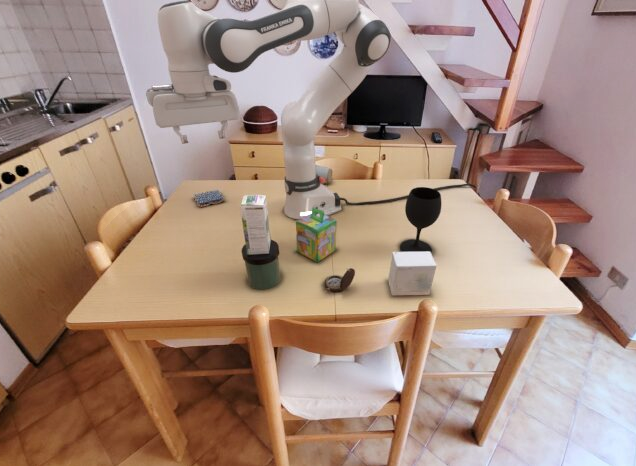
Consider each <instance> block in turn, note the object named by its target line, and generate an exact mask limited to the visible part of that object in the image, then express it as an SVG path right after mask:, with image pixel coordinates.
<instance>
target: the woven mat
mask: <svg viewBox="0 0 636 466" xmlns="http://www.w3.org/2000/svg"><path fill="white" fill-rule="evenodd" d="M193 199H194V201H195V202H197V203H196V204H197V206H198V207H200V208H204V207H207V206H210V205H216V204H220V203H221V204H222V202H225V201H226V199H225V198H224V196H223V194H222V193H221V192H220V191H219V190H218V189H214V190H210V191H205V192H201V193H200V192H198V193H194V194H193Z"/></svg>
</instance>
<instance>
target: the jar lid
mask: <svg viewBox="0 0 636 466" xmlns="http://www.w3.org/2000/svg"><path fill="white" fill-rule="evenodd" d="M270 240H271V242H270V250H269V254H252V255H248V254H247V250H246V243H244V245H243V246H242V248H241V256H242V259H243V261H244V263H245V262H247V263H249V264H252V265H264V264H268V263H270V262H272V261H274V260H275V259H276V258H277V257H278V258H279V255H280V246H279V243H278V242H277V241H276V240H273V239H271V238H270Z"/></svg>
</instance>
